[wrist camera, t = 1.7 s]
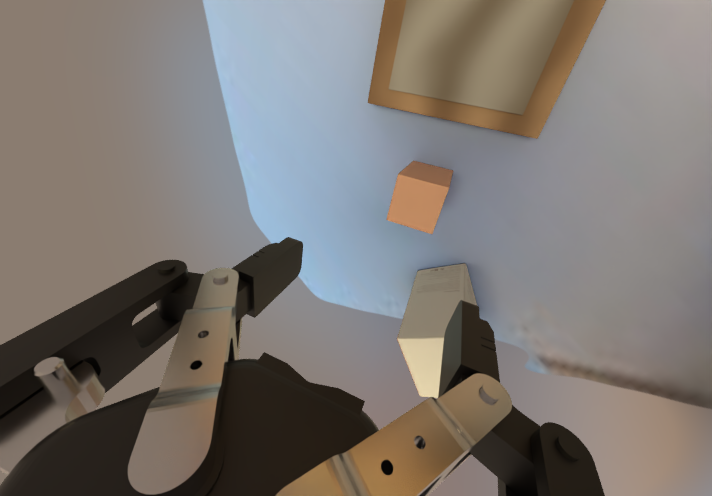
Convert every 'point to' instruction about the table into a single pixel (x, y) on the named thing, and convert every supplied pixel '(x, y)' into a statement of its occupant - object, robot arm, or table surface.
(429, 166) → the terracotta block
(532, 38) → the walnut plinth
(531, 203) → the table surface
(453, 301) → the small box
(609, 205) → the table surface
